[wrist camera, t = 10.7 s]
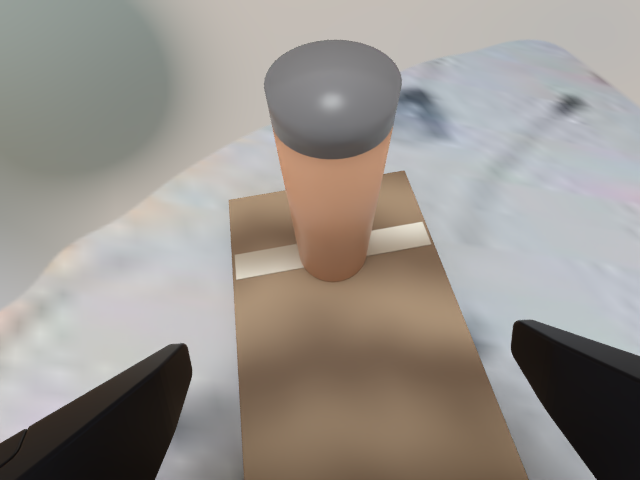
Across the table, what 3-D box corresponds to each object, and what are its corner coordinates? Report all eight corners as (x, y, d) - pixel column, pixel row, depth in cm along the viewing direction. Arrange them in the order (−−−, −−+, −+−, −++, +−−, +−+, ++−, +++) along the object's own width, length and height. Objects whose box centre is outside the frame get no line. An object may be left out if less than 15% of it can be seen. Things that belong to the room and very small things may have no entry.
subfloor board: (606, 705, 11) (631, 732, 10) (269, 796, 11) (262, 834, 10) (401, 179, 23) (404, 169, 22) (232, 208, 22) (228, 199, 21)
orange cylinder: (380, 258, 19) (431, 88, 9) (323, 295, 18) (311, 149, 8) (340, 211, 20) (347, 25, 11) (286, 242, 19) (240, 70, 10)
